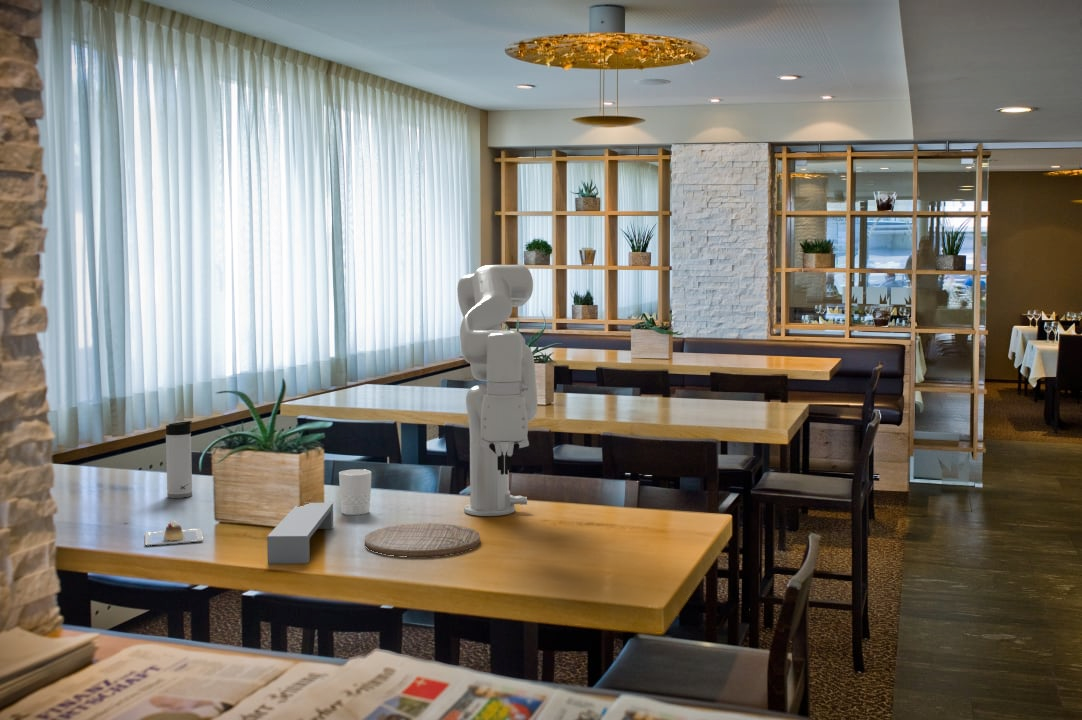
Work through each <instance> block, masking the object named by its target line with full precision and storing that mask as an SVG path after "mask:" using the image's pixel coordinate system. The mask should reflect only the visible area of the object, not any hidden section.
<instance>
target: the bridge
mask: <svg viewBox="0 0 1082 720" xmlns="http://www.w3.org/2000/svg"><path fill="white" fill-rule="evenodd" d="M308 503H309V504H306V505H304V506H300V507H297V506H296V505H295V506H294V507H293V508H292V509H291V510H290V511H289V512H288V514H286V515H285V517H284V518H283V519H282V520H281V521H280V522H279V523H278V524H277V525H276V526H275V527H274V528H273V529H272V531H270V532H269V534H268V535H266V538H267V541H266V542H267V543H266V547H267V564H270V565H271V564H308V563H309V562H310V560H311V558H310V553H311V552H310V551H311V550H310V539H311V537H312V536H313V535H314V533H315V532H316V531H317V530H332V529H333V528H334V502H308Z"/></svg>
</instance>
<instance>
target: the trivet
mask: <svg viewBox="0 0 1082 720" xmlns="http://www.w3.org/2000/svg"><path fill="white" fill-rule="evenodd" d="M480 536H481V535H480V533H479V532H478V530H475V529H473V528H469V527H467V526H461V525H456V524H448V523H431V522H430V523H409V524H408V523H407V524H406V523H405V524H399V525H391V526H387V527H382V528H378V529H375V530H373V531H370V532H368V533H367V534H366V535H365V536H364V547H365V546H366V547H367V548H368V549H369V550H372V551H374V552H378V553H382V554H386V555H394V556H407V557H427V558H433V557H432V556H440V557H446V556H445V555H448V556H451V555H450V554H454V555H458V554H457V553H460V554H462V553H461V552H463V553H466V552H465V551H467V552H469V551H468V550H470V549H472V550H474V549H476V548H477V547H479V545H480V544H481V542H480V541H481V537H480ZM479 543H480V544H479ZM366 547H365V548H366ZM475 547H476V548H475ZM367 548H366V549H367ZM473 548H474V549H473ZM368 549H367V550H368ZM369 550H368V551H369ZM470 551H471V550H470ZM374 552H373V553H374ZM386 555H385V556H386ZM394 556H393V557H394ZM407 557H406V558H407Z"/></svg>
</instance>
